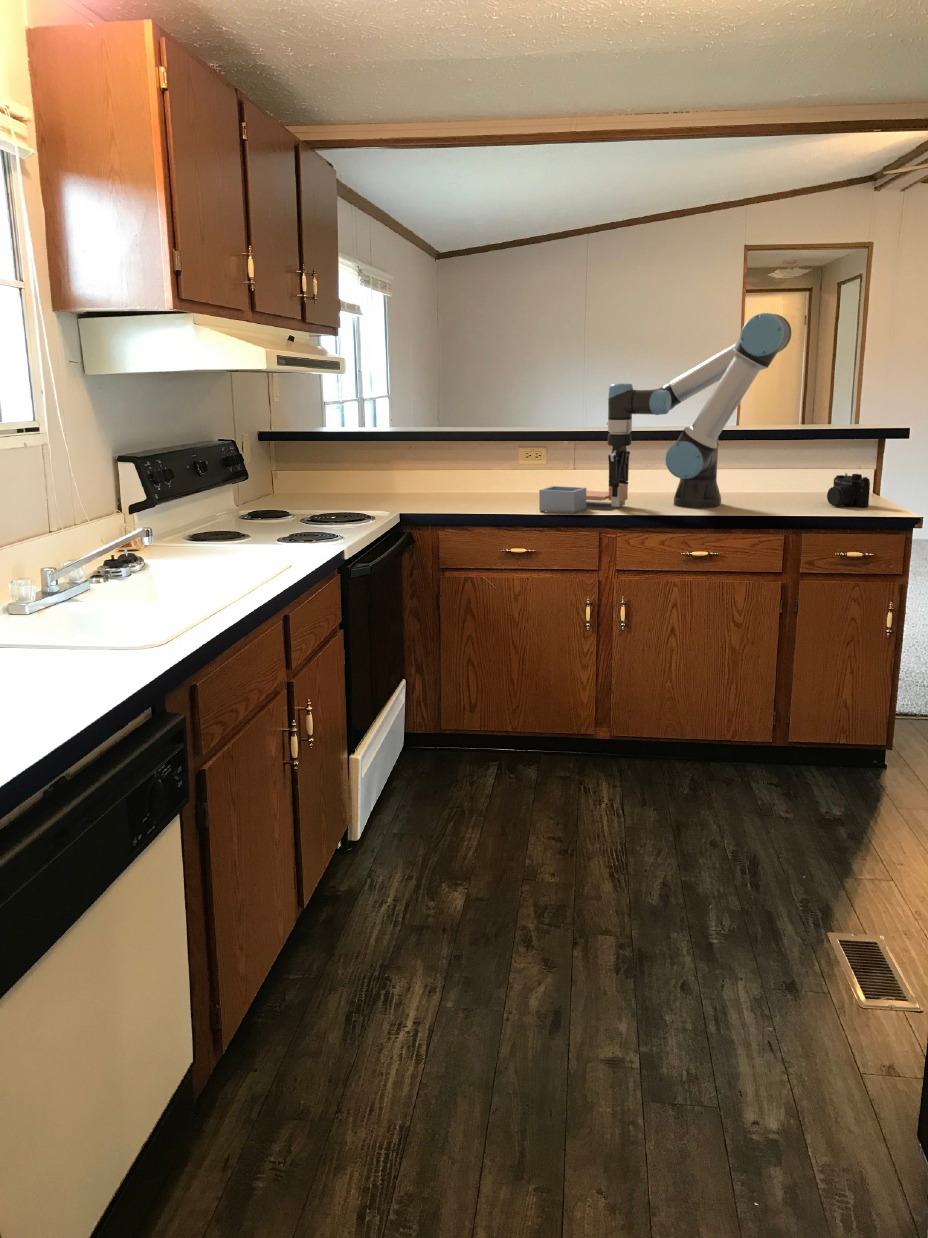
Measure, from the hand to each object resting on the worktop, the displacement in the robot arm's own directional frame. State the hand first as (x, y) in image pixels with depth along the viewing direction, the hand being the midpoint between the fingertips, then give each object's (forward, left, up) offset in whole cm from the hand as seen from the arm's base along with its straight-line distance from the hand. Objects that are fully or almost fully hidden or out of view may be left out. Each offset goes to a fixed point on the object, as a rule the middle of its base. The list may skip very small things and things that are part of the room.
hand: (618, 505), depth 323 cm
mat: (+9, 0, -1) cm, 9 cm away
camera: (-65, -29, -1) cm, 71 cm away
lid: (+7, 0, +2) cm, 7 cm away
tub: (+14, +13, -1) cm, 19 cm away
